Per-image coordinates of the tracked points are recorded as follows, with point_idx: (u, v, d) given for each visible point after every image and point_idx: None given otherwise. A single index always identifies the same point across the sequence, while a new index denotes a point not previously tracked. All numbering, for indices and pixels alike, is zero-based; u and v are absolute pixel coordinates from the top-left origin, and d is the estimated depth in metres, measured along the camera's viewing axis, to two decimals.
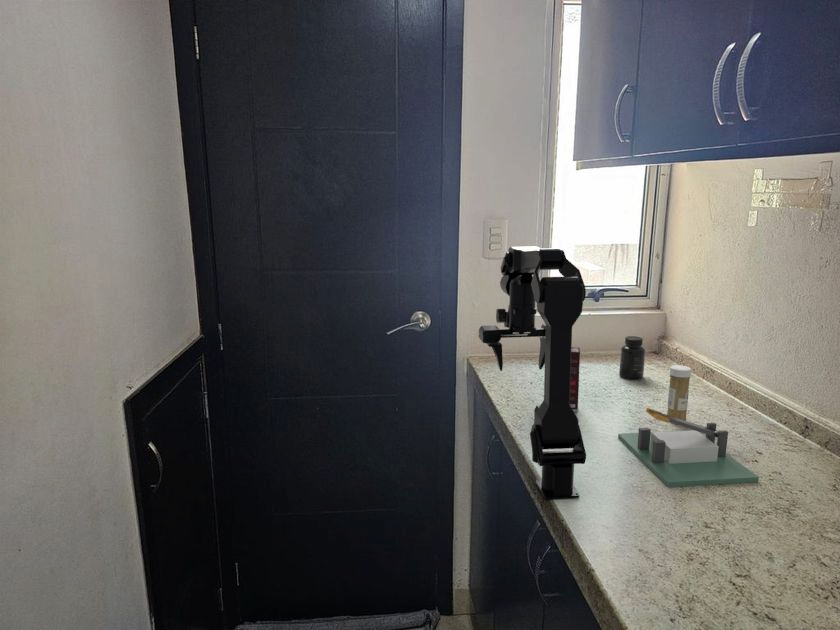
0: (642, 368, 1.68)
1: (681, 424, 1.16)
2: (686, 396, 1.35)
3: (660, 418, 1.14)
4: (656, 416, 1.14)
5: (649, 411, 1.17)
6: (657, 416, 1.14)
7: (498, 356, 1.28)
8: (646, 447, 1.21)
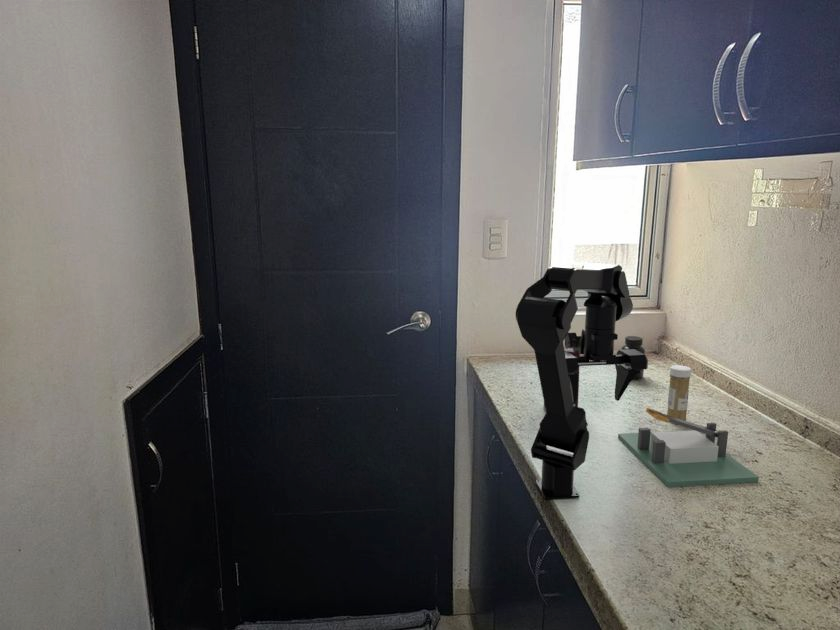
0: None
1: (681, 424, 1.16)
2: (686, 396, 1.35)
3: (660, 418, 1.14)
4: (656, 416, 1.14)
5: (649, 411, 1.17)
6: (657, 416, 1.14)
7: (573, 387, 1.13)
8: (646, 447, 1.21)
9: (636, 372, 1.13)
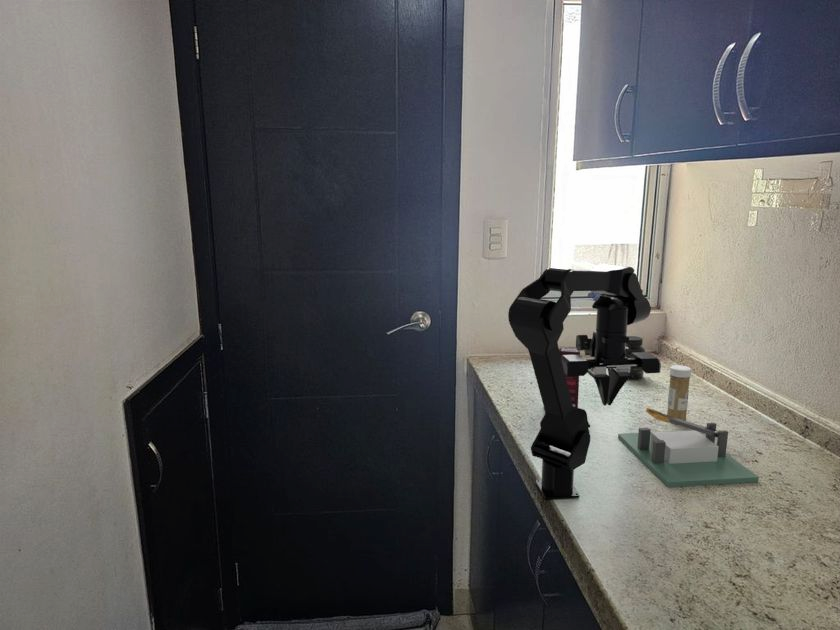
0: None
1: (681, 424, 1.16)
2: (686, 396, 1.35)
3: (660, 418, 1.14)
4: (656, 416, 1.14)
5: (649, 411, 1.17)
6: (657, 416, 1.14)
7: (604, 389, 1.12)
8: (646, 447, 1.21)
9: (628, 377, 1.11)
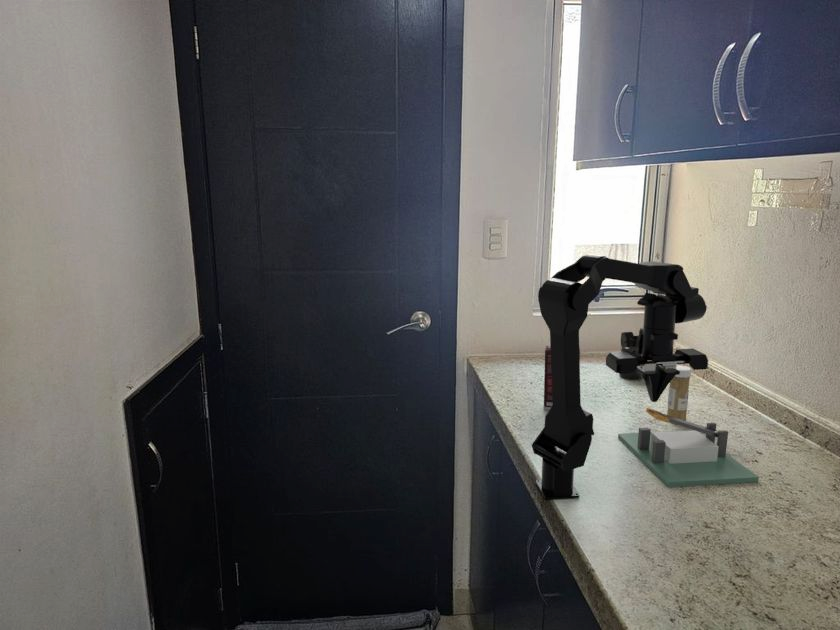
0: None
1: (681, 424, 1.16)
2: (686, 396, 1.35)
3: (660, 418, 1.14)
4: (656, 416, 1.14)
5: (649, 411, 1.17)
6: (657, 416, 1.14)
7: (653, 386, 1.13)
8: (646, 447, 1.21)
9: (675, 373, 1.12)
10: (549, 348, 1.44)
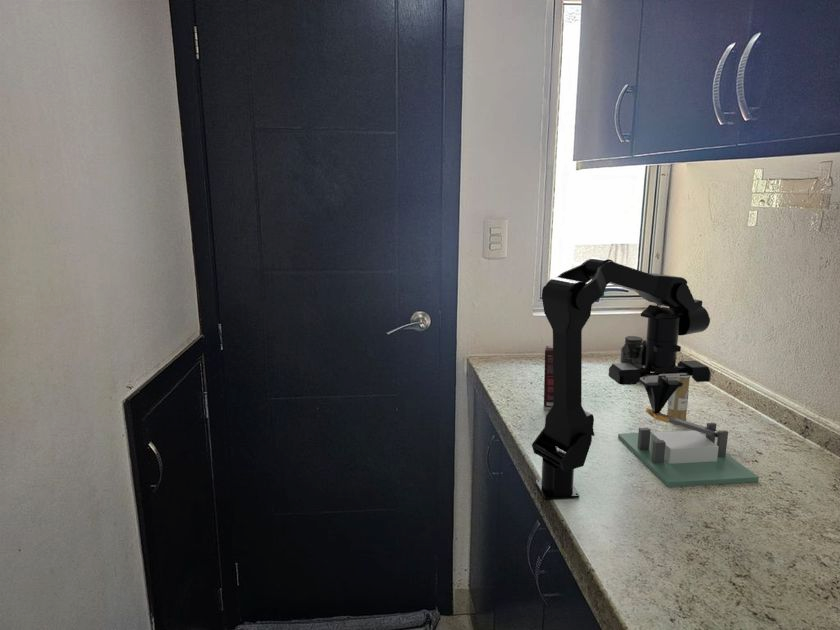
0: None
1: (681, 424, 1.16)
2: (686, 396, 1.35)
3: (660, 418, 1.14)
4: (656, 416, 1.14)
5: (649, 411, 1.17)
6: (657, 416, 1.14)
7: (655, 398, 1.13)
8: (646, 447, 1.21)
9: (678, 385, 1.12)
10: (549, 348, 1.44)
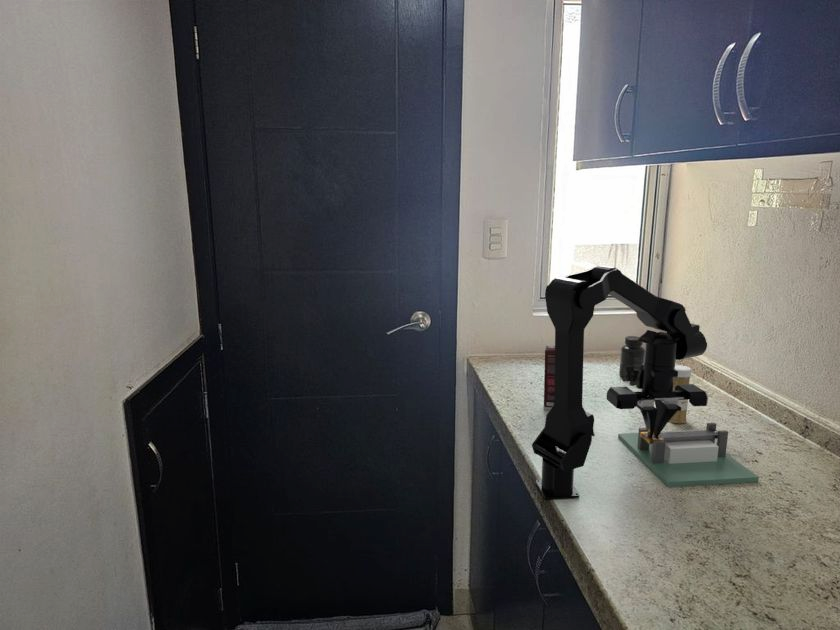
0: None
1: (677, 439, 1.17)
2: None
3: None
4: (649, 441, 1.15)
5: (643, 436, 1.18)
6: (650, 441, 1.15)
7: (651, 422, 1.15)
8: (646, 447, 1.21)
9: (677, 409, 1.13)
10: (549, 348, 1.44)
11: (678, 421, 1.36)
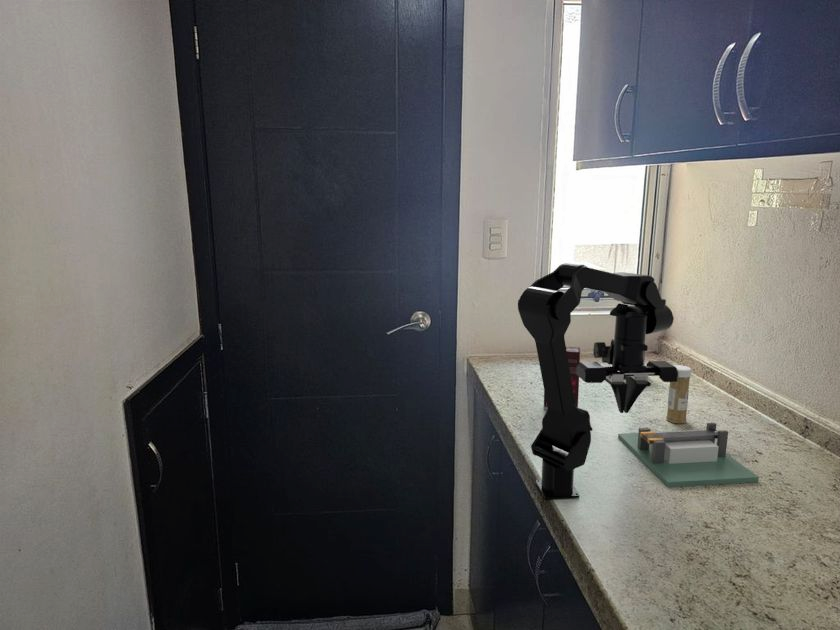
0: None
1: (677, 439, 1.17)
2: (686, 396, 1.35)
3: None
4: (649, 441, 1.15)
5: (643, 436, 1.18)
6: (650, 441, 1.15)
7: (621, 397, 1.13)
8: (646, 447, 1.21)
9: (646, 385, 1.11)
10: None
11: (678, 421, 1.36)
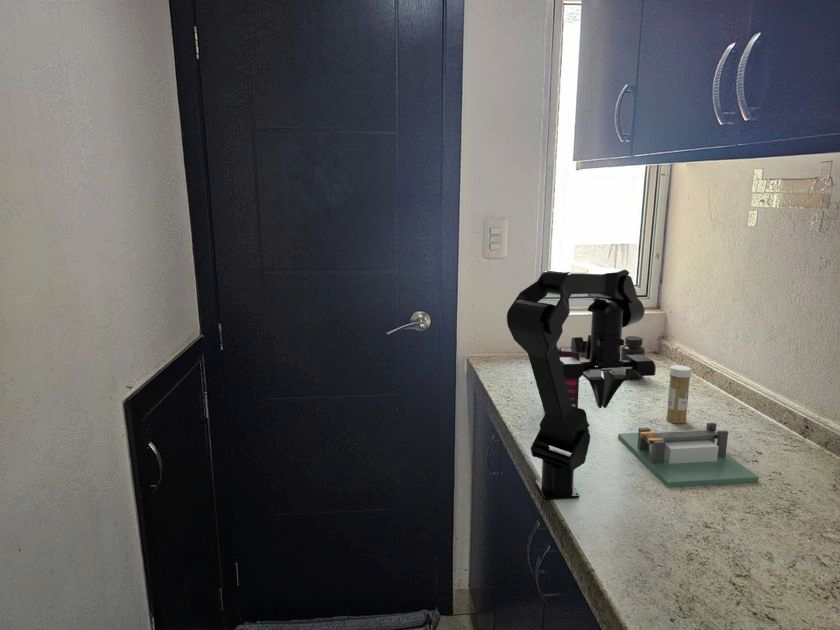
0: None
1: (677, 439, 1.17)
2: (686, 396, 1.35)
3: None
4: (649, 441, 1.15)
5: (643, 436, 1.18)
6: (650, 441, 1.15)
7: (599, 392, 1.12)
8: (646, 447, 1.21)
9: (623, 379, 1.11)
10: None
11: (678, 421, 1.36)
